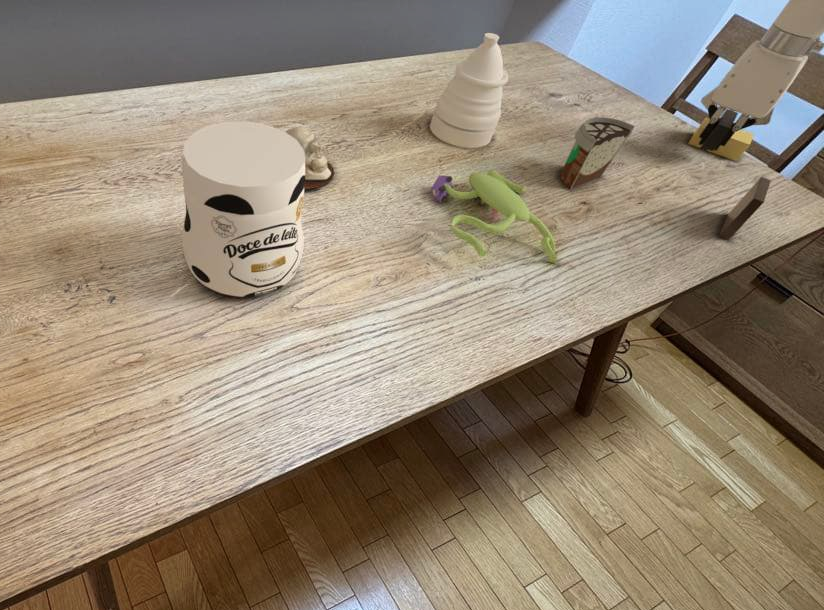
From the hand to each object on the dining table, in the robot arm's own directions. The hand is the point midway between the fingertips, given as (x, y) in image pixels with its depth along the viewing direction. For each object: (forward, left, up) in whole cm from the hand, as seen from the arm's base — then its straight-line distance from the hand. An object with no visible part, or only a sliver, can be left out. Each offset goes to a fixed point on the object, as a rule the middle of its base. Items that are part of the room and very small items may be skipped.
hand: (708, 144), depth 105 cm
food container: (+18, +27, -4) cm, 32 cm away
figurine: (+24, +54, -4) cm, 59 cm away
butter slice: (+2, -8, -4) cm, 9 cm away
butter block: (-4, -8, -4) cm, 10 cm away
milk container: (+48, +91, -4) cm, 103 cm away
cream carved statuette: (+57, +64, -4) cm, 86 cm away
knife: (0, -4, +1) cm, 4 cm away
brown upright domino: (-10, +23, -4) cm, 25 cm away
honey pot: (+42, +28, -4) cm, 51 cm away
